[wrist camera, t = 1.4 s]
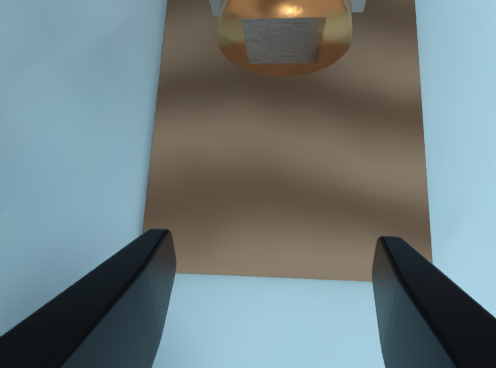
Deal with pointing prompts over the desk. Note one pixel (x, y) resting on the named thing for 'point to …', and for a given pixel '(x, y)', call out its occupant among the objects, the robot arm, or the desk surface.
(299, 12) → the gold rounded piece
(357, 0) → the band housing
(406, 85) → the walnut board
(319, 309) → the desk surface
